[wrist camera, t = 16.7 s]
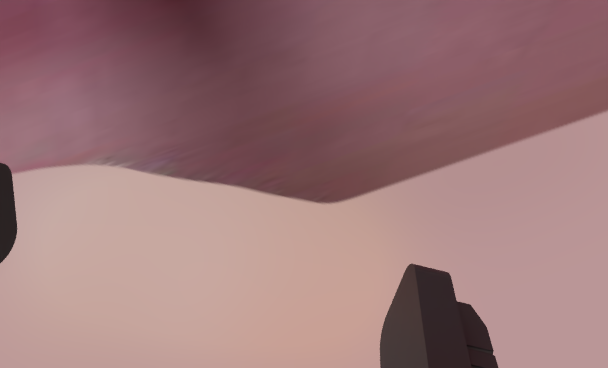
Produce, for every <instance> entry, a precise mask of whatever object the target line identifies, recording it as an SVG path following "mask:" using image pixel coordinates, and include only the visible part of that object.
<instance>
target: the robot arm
mask: <svg viewBox="0 0 608 368" xmlns="http://www.w3.org/2000/svg"><path fill="white" fill-rule="evenodd" d="M16 234H17V221H16V211H15V201H14V192H13V181H12V174H11V171H10V169H9V167H8V166H7V165H5V164H2V163H0V263H1V262H2V261H3V260H4V259H5V258H6V257H7V255H8V254H9V252H10V251H11V249H12V247H13V245H14V242H15V239H16ZM380 364H381V368H498V365H497V362H496V358H495V356H494V355H493V348H492V344H491V341H490V337H489V334H488V330H487V327H486V326H485V324H484V323H483V321H482V320H481V319H480V317H479V316H478V315H477V313H476V312H475V310H474V309H473V308H472V306H471V305H469V304H466V303H461V302H457V301H456V297H455V293H454V288H453V284H452V280H451V276H450V274H449V273H447V272H444V271H440V270H436V269H432V268H427V267H423V266H419V265H415V264H410V265H409V266H408V267H407V269H406V271H405V273H404V275H403V278H402V280H401V282H400V285H399V287H398V289H397V292H396V294H395V296H394V299H393V301H392V304H391V306H390V308H389V311H388V313H387V315H386V318H385V321H384V325H383V329H382V334H381V342H380Z"/></svg>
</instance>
